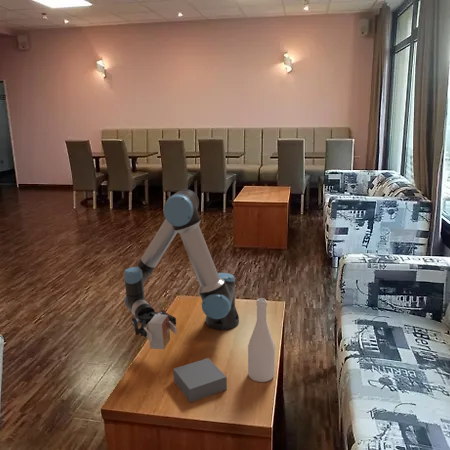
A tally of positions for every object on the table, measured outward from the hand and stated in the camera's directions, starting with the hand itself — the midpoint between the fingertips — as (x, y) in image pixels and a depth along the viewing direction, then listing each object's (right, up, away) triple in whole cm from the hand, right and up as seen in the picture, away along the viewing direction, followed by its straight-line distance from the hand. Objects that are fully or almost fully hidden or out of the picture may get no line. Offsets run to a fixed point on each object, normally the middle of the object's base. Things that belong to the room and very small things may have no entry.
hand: (163, 334), depth 166 cm
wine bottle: (+36, -15, -1) cm, 39 cm away
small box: (-2, -5, +5) cm, 8 cm away
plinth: (+14, -16, -7) cm, 22 cm away
